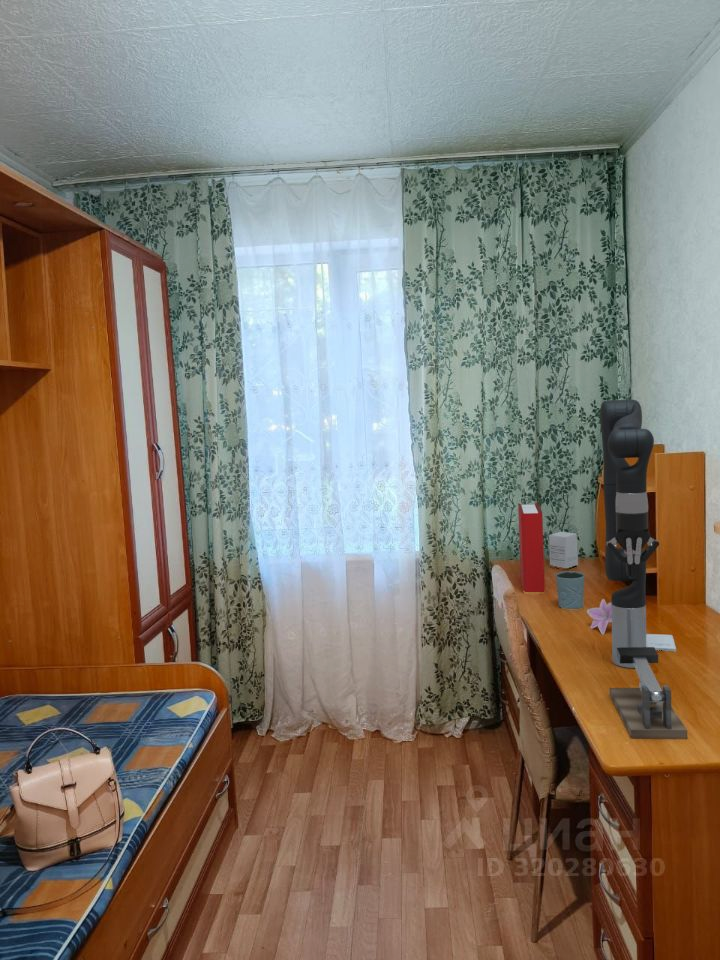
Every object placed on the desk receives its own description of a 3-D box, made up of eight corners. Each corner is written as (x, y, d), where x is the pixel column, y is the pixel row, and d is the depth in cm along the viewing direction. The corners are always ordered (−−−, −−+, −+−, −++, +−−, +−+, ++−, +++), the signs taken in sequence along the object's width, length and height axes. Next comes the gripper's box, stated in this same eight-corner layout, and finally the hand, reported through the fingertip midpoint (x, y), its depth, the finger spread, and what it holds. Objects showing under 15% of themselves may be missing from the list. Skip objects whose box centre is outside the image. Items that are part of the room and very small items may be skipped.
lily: (587, 625, 249) (577, 604, 245) (619, 611, 248) (610, 590, 244) (599, 647, 238) (590, 626, 235) (634, 632, 237) (625, 611, 233)
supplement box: (561, 563, 333) (560, 531, 332) (578, 566, 326) (577, 533, 325) (549, 567, 327) (548, 534, 326) (566, 570, 321) (565, 536, 319)
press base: (609, 695, 190) (608, 653, 189) (658, 695, 188) (657, 653, 187) (631, 738, 166) (630, 691, 165) (687, 738, 165) (686, 691, 164)
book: (520, 577, 314) (518, 502, 310) (539, 576, 312) (537, 502, 309) (523, 594, 287) (521, 513, 284) (545, 594, 286) (542, 512, 282)
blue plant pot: (582, 602, 272) (581, 570, 271) (588, 610, 262) (587, 577, 261) (554, 603, 273) (553, 571, 272) (558, 611, 263) (558, 578, 262)
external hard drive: (672, 639, 229) (676, 653, 218) (644, 638, 232) (646, 652, 220) (672, 634, 229) (676, 648, 218) (644, 633, 232) (646, 647, 220)
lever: (616, 661, 187) (616, 647, 186) (653, 660, 186) (654, 647, 185) (636, 709, 167) (637, 694, 166) (678, 709, 166) (679, 694, 165)
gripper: (655, 506, 186) (656, 573, 188) (601, 508, 188) (602, 575, 189) (663, 511, 178) (664, 581, 180) (607, 513, 180) (608, 582, 182)
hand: (632, 577), depth 185 cm, fingers closed
